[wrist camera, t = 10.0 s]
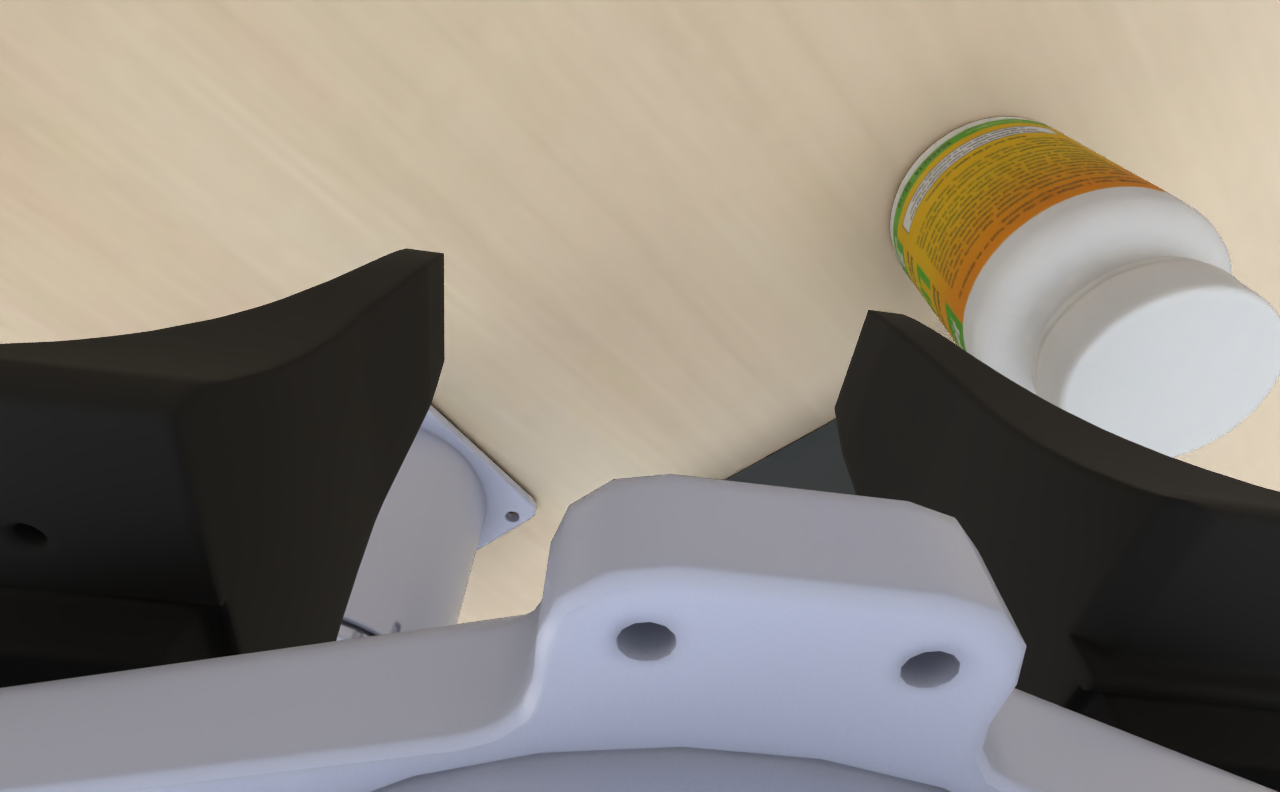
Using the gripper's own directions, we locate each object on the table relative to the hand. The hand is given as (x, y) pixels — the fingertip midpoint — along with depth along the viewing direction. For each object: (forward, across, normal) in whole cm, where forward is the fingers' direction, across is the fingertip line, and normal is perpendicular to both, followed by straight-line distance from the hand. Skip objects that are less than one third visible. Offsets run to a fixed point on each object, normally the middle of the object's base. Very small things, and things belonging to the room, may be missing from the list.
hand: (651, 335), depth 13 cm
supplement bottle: (+11, -10, 0) cm, 14 cm away
